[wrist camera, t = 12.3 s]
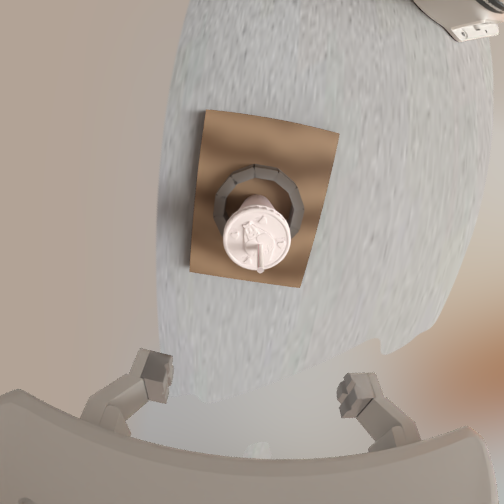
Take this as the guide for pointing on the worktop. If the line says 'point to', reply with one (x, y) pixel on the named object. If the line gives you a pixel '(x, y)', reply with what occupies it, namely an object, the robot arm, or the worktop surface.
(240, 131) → the stand
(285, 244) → the smoothie
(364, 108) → the worktop surface
